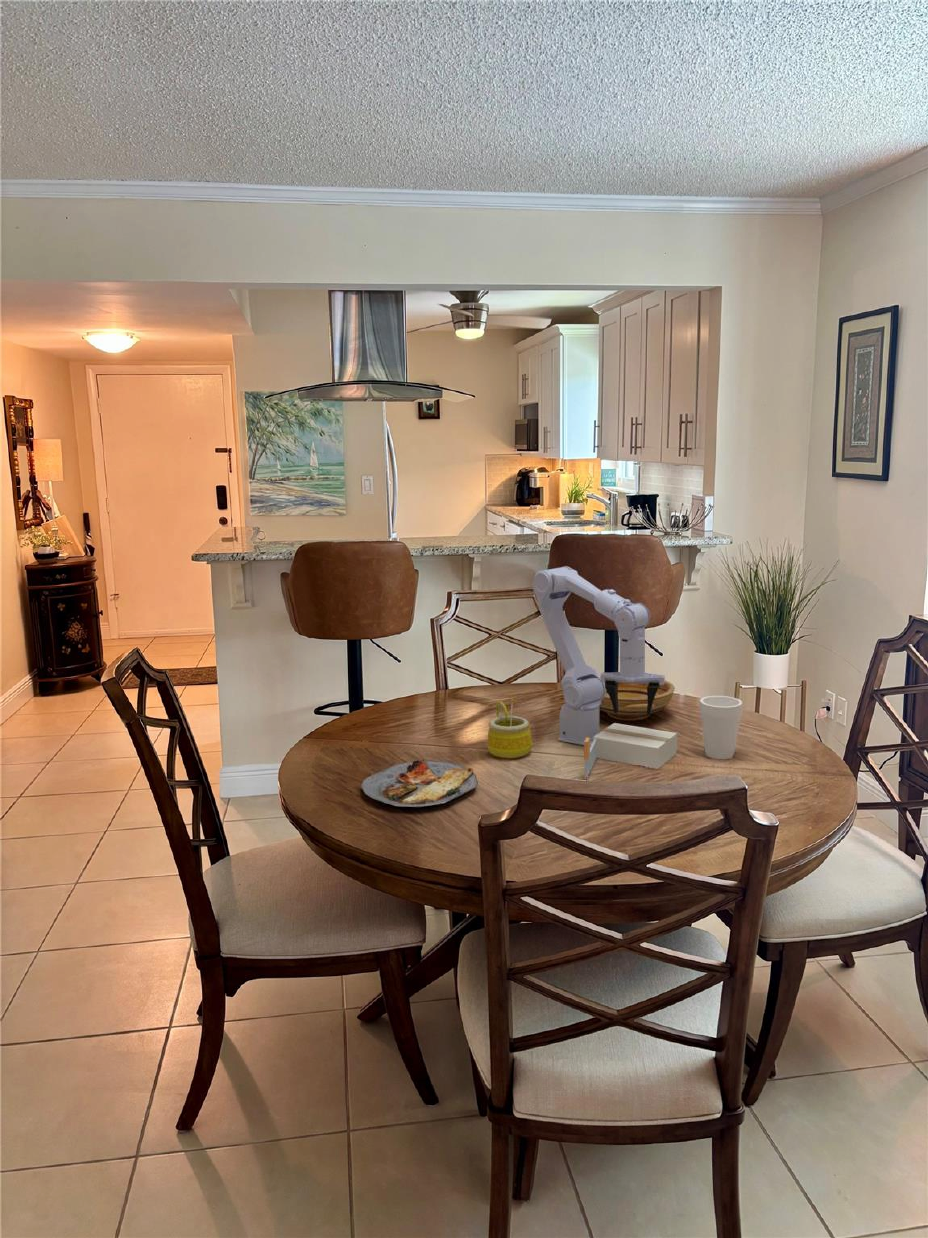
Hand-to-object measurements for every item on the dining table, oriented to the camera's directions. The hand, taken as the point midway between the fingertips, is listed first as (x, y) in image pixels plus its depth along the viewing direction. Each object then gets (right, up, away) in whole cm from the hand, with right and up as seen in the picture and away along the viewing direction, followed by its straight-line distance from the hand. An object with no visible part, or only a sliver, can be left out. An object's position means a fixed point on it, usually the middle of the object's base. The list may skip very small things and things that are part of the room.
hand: (632, 712), depth 207 cm
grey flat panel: (-11, -12, -7) cm, 17 cm away
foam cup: (+21, -10, +1) cm, 23 cm away
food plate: (-49, -16, -15) cm, 53 cm away
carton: (+1, -10, +2) cm, 10 cm away
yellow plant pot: (-28, -10, +7) cm, 31 cm away
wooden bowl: (+5, -4, +33) cm, 34 cm away
